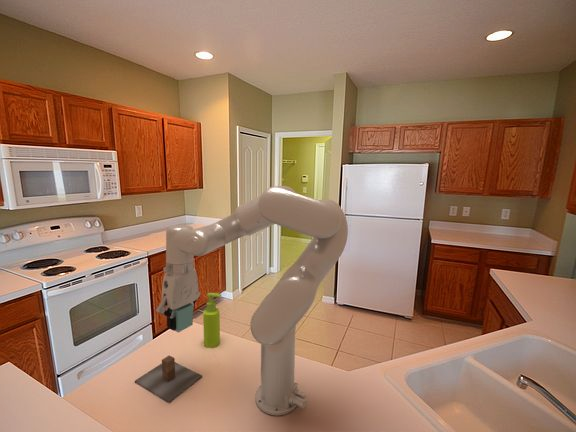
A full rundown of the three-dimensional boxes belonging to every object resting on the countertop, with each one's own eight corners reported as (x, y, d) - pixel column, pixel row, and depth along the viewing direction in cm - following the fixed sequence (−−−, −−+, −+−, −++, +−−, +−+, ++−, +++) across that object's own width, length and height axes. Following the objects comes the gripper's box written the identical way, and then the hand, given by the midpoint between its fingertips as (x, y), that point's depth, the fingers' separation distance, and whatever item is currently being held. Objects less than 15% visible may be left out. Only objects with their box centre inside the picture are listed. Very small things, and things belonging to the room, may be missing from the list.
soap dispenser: (218, 349, 100) (217, 297, 98) (201, 347, 102) (199, 296, 99) (225, 340, 106) (224, 291, 104) (208, 338, 108) (207, 289, 105)
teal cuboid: (192, 324, 84) (192, 304, 83) (178, 332, 79) (178, 311, 78) (181, 319, 86) (181, 300, 85) (166, 326, 82) (166, 306, 81)
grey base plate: (202, 377, 86) (201, 356, 85) (169, 403, 76) (168, 380, 75) (168, 360, 94) (168, 341, 93) (134, 382, 84) (133, 361, 83)
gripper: (162, 277, 71) (162, 342, 73) (210, 262, 86) (209, 316, 88) (144, 271, 75) (145, 333, 77) (194, 258, 89) (193, 310, 92)
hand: (179, 323), depth 83 cm, fingers closed on teal cuboid, 5 cm apart
